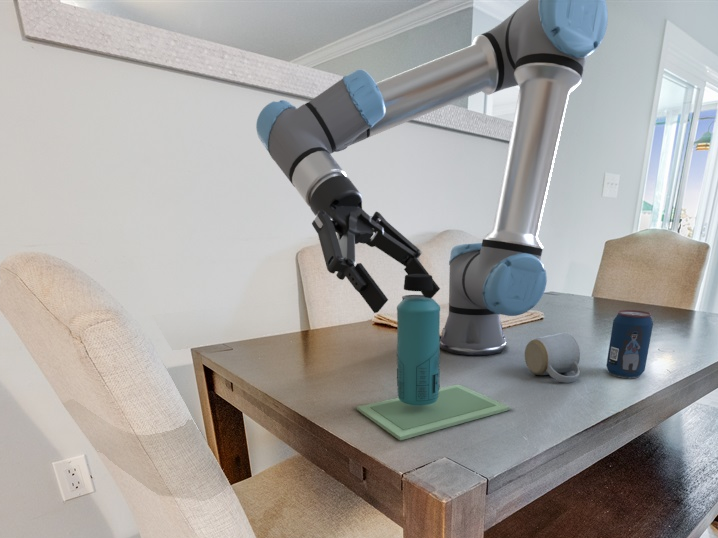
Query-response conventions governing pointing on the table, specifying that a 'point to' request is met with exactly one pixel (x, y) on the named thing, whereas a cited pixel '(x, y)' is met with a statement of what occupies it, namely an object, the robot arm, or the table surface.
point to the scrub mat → (431, 412)
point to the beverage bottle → (418, 344)
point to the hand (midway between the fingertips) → (409, 300)
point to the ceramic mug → (554, 356)
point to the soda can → (629, 343)
